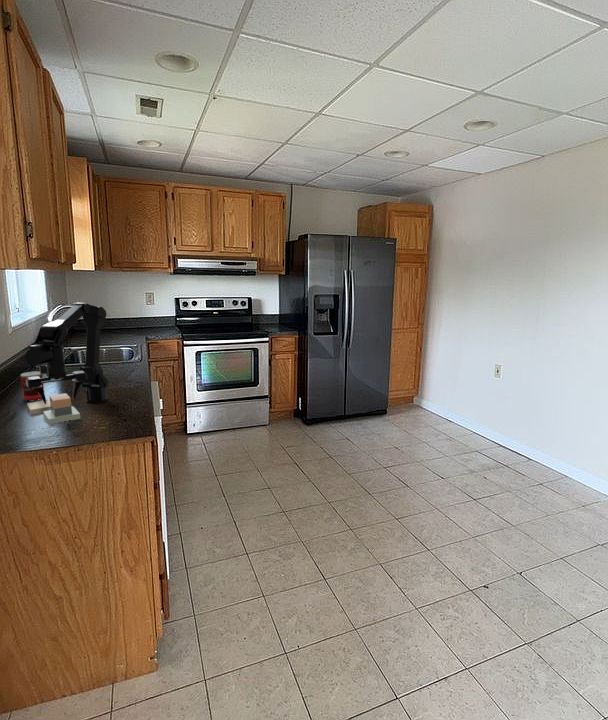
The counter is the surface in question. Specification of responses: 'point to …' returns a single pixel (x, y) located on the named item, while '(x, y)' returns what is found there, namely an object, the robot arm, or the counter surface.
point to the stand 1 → (38, 407)
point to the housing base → (61, 411)
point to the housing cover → (60, 401)
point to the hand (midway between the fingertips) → (59, 401)
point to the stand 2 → (52, 419)
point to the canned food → (29, 392)
